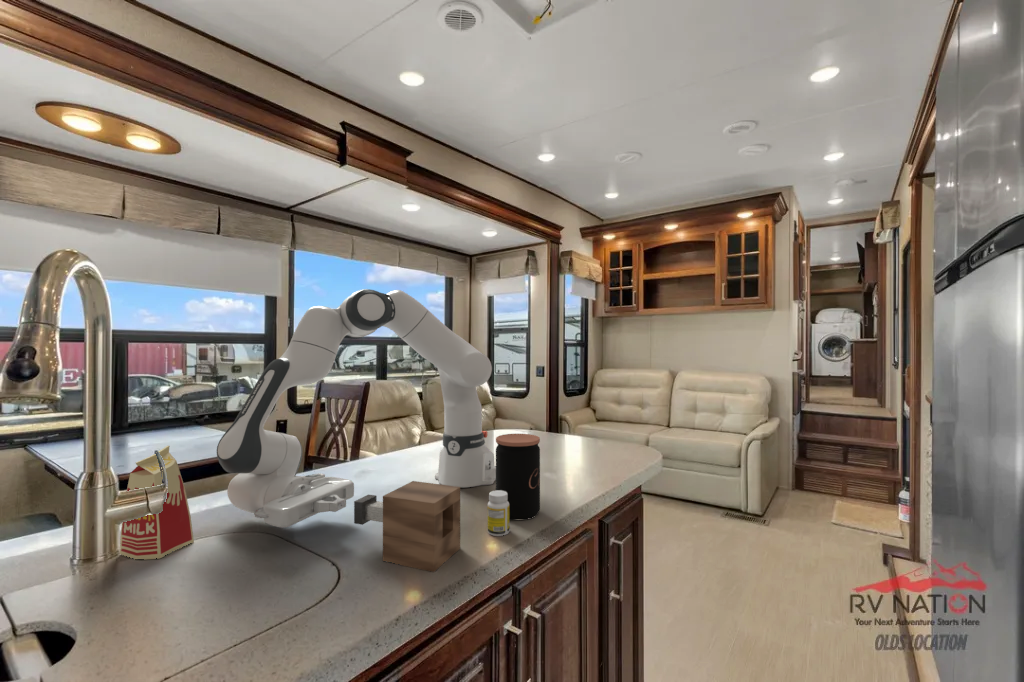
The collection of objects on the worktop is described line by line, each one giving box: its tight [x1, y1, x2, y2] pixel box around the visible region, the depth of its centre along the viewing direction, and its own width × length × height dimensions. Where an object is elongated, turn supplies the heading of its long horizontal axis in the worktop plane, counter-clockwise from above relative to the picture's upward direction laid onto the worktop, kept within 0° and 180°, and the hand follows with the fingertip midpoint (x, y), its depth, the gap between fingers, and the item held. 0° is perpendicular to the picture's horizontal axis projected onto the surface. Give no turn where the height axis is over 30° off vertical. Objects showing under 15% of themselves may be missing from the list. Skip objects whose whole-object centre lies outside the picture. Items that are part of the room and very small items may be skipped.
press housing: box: [382, 480, 461, 573], centre depth 88 cm, size 10×11×12 cm
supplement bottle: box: [486, 489, 511, 537], centre depth 99 cm, size 5×5×8 cm
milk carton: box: [119, 445, 195, 560], centre depth 91 cm, size 9×9×20 cm
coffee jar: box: [495, 433, 541, 520], centre depth 110 cm, size 11×11×18 cm
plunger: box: [353, 494, 383, 526], centre depth 91 cm, size 4×12×4 cm, turn 69°
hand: (341, 505), depth 95 cm, fingers closed
